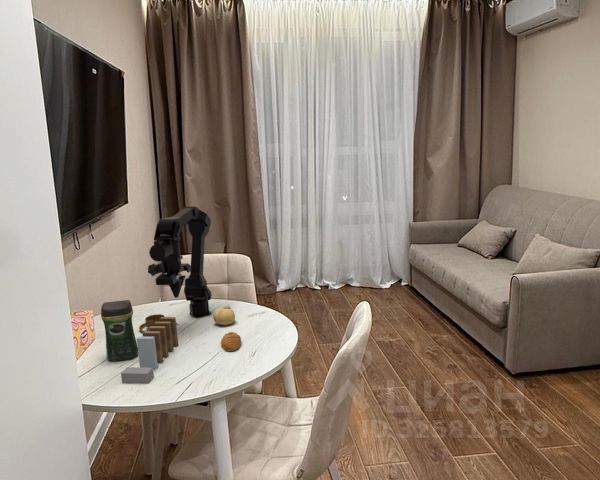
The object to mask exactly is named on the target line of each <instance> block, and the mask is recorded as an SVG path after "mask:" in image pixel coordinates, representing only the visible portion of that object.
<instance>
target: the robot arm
mask: <svg viewBox="0 0 600 480" xmlns="http://www.w3.org/2000/svg"><path fill="white" fill-rule="evenodd" d="M211 224H212V221H211V218H210V216H209V215H208V214H207V213H206V212H205V211H203V210H201V209H199V208H198V207H197V206H184V207H183V208H182V209H181V210H179V211H178V212H177V213H176V214H174V215H173V216H170V217H163V218H160V219H159V220H158V222H157V224H156V227H155V231H154V235H153V245H152V246H151V247H150V249H149V250H148V251H149V252H148V253H149V256H150V258H151V260H153V261H155V262H156V263H152V264H149V265H148V266H147V273H148V274H149V275H150V276H151V277H155V275H158V274H160V273H161V274H160V275H158V276H156V278H155V285H156V286H169V288H170V290H171V292H172V295H173V298H175V299H177V298H179V296H180V292H181V290H182V287H183V285H184V287H183V293H184V297H185V299H186V301H187V302H188V301H190V302H189V315H190V316H192V317H194V318H195V319H198V318H202V317H205V316H209V315H212V312H210V306H209V301H210V300H212V291H211V290H210V288H209V287H208V281H207V280H206V278H205V276H204V263H205V262H204V259H205V257H204V256H205V239H206V237H207V235H208V234H209V232H210V227H211ZM185 225H187V229H188V232H189V234H190V236H191V249H190V250H191V251H190V252H191V255H190V264H189V262H187V263H182V259H183V258H184V257H183V255H181V248H180V247H181V246H180V240H181V238H182V237H181V234H180V233H181V232H182V231H183V226H185ZM183 272H187V273H190V274H189V275H188V277H186V275H183V274H182V273H183ZM183 283H184V284H183Z"/></svg>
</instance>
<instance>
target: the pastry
mask: <svg viewBox="0 0 600 480" xmlns="http://www.w3.org/2000/svg"><path fill="white" fill-rule="evenodd" d="M241 344H242V338H241V336H240V335H239V334H237V332H235V331H231V332H228V333H224V335H222V337H221V340H220V345H221V347H222V349H223V351H225V352H231V351H232V352H233V351H238V349H239V348H240V347H241Z"/></svg>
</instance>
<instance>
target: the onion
mask: <svg viewBox="0 0 600 480" xmlns="http://www.w3.org/2000/svg"><path fill="white" fill-rule="evenodd" d="M212 316H213V317H212V319H213V322H215V324H217V326H220V327H221V326H229V325H231V324H233V322H235V320H236V313H235V311H234V310H233V309H232V308H231V306H230V304H227V306H220V307H218V308H217V309H216V310H215V311H214V312H213V315H212Z"/></svg>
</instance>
